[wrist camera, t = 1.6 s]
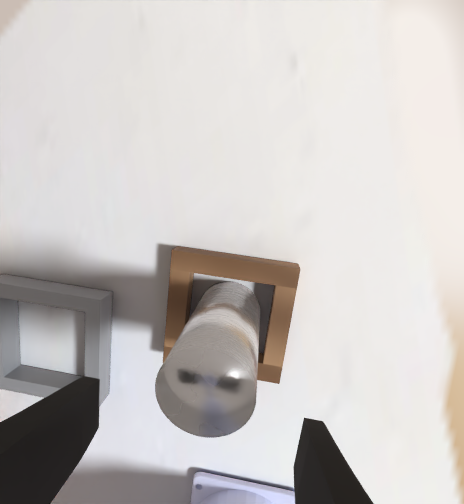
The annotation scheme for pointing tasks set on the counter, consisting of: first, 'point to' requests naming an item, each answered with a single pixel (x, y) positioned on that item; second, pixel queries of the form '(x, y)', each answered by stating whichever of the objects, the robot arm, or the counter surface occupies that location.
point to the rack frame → (62, 296)
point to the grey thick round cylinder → (213, 364)
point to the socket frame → (240, 269)
